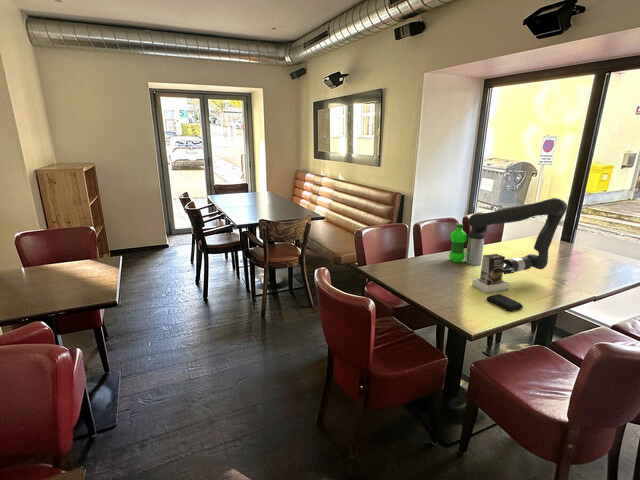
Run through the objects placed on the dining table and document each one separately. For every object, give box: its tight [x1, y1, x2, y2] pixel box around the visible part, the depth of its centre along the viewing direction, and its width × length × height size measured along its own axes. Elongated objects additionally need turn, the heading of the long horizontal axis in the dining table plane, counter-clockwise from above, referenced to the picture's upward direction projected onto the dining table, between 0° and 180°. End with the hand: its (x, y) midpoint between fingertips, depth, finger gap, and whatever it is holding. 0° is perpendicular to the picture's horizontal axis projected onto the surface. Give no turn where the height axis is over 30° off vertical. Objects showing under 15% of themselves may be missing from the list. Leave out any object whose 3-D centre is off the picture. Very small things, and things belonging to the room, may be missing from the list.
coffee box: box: [479, 253, 506, 286], centre depth 187 cm, size 9×6×16 cm
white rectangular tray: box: [471, 277, 510, 294], centre depth 189 cm, size 11×14×4 cm
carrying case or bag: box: [486, 293, 524, 313], centre depth 170 cm, size 11×3×15 cm
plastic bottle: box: [448, 223, 468, 263], centre depth 230 cm, size 10×10×25 cm
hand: (488, 269), depth 186 cm, fingers closed on coffee box, 6 cm apart
